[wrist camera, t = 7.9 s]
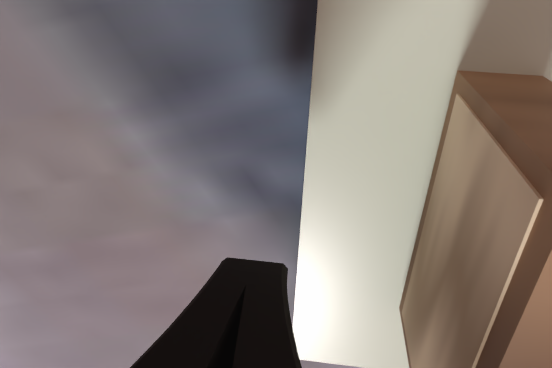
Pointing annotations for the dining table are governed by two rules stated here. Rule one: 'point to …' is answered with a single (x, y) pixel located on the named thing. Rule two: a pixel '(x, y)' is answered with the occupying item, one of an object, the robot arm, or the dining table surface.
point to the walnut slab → (486, 232)
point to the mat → (386, 153)
